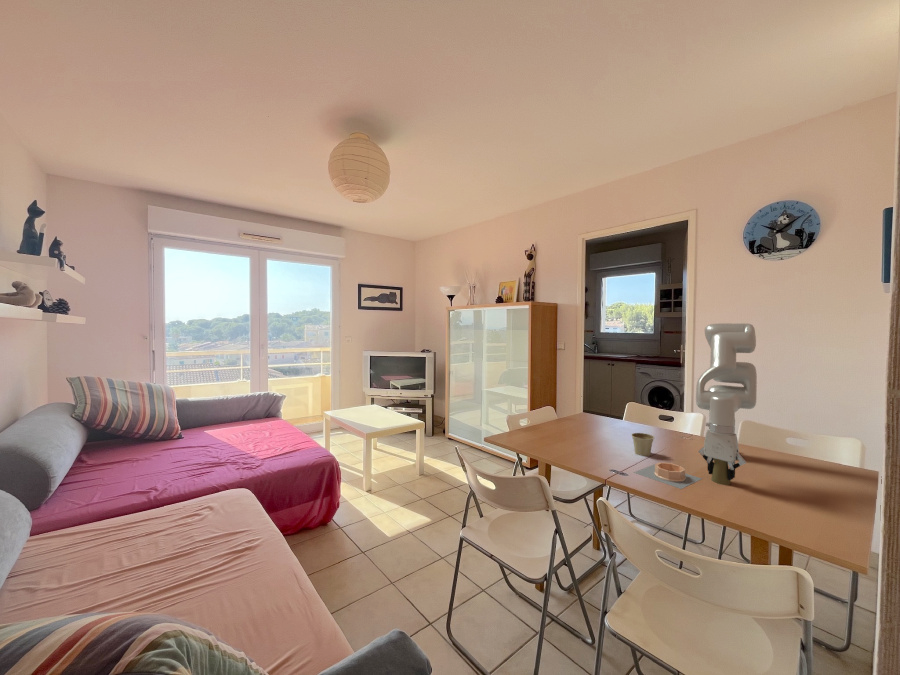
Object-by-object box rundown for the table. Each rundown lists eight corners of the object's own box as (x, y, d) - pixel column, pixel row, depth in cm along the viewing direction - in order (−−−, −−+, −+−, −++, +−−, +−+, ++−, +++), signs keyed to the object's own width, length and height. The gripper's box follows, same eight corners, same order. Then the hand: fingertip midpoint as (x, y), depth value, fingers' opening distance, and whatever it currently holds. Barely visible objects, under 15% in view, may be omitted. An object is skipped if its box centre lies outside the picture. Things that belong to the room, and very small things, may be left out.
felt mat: (655, 464, 158) (655, 464, 158) (702, 479, 143) (702, 478, 143) (633, 473, 149) (633, 472, 149) (681, 490, 134) (681, 488, 134)
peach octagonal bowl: (663, 469, 153) (663, 460, 152) (690, 477, 144) (690, 468, 144) (649, 474, 147) (649, 465, 147) (676, 484, 138) (677, 474, 138)
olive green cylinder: (727, 480, 142) (727, 451, 142) (733, 486, 137) (734, 457, 136) (708, 478, 144) (709, 450, 144) (714, 484, 139) (714, 455, 138)
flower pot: (658, 458, 166) (658, 439, 166) (637, 458, 166) (637, 439, 166) (647, 451, 175) (647, 432, 175) (627, 451, 176) (627, 432, 175)
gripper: (691, 425, 145) (691, 471, 145) (745, 436, 130) (744, 487, 131) (701, 422, 149) (700, 466, 150) (753, 432, 134) (752, 482, 135)
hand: (720, 475), depth 140 cm, fingers open, 5 cm apart
